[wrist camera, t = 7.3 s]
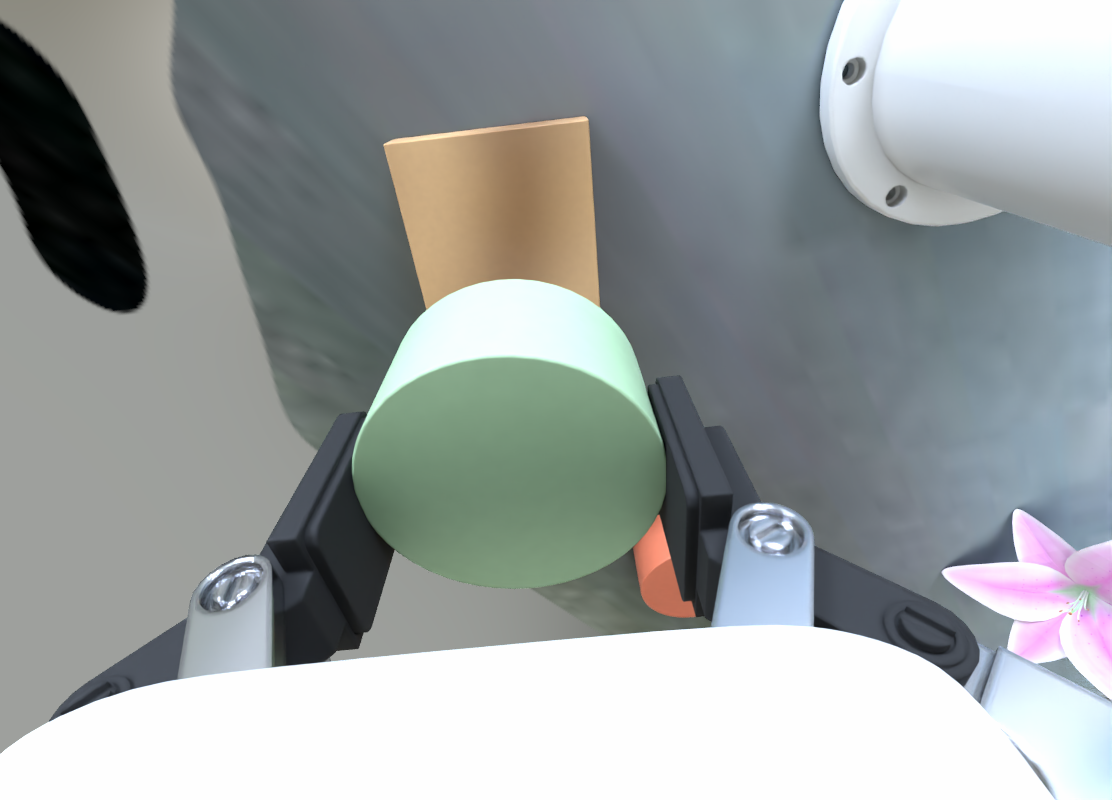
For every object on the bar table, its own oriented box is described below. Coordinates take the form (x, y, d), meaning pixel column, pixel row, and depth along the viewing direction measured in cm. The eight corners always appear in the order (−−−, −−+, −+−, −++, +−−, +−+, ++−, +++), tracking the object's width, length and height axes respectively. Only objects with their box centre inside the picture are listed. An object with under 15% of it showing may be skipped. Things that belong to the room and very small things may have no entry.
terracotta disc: (731, 503, 33) (750, 547, 30) (723, 568, 37) (739, 613, 34) (631, 512, 33) (640, 557, 30) (633, 576, 37) (641, 621, 34)
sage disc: (639, 265, 12) (674, 338, 9) (640, 475, 15) (664, 578, 12) (361, 292, 12) (301, 372, 9) (425, 494, 15) (398, 600, 12)
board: (586, 115, 21) (588, 119, 20) (609, 482, 32) (612, 499, 31) (392, 139, 21) (382, 144, 20) (481, 493, 32) (478, 511, 31)
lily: (1116, 446, 32) (1181, 548, 25) (1227, 584, 33) (1322, 723, 26) (916, 508, 40) (922, 600, 33) (1008, 619, 41) (1034, 733, 34)
